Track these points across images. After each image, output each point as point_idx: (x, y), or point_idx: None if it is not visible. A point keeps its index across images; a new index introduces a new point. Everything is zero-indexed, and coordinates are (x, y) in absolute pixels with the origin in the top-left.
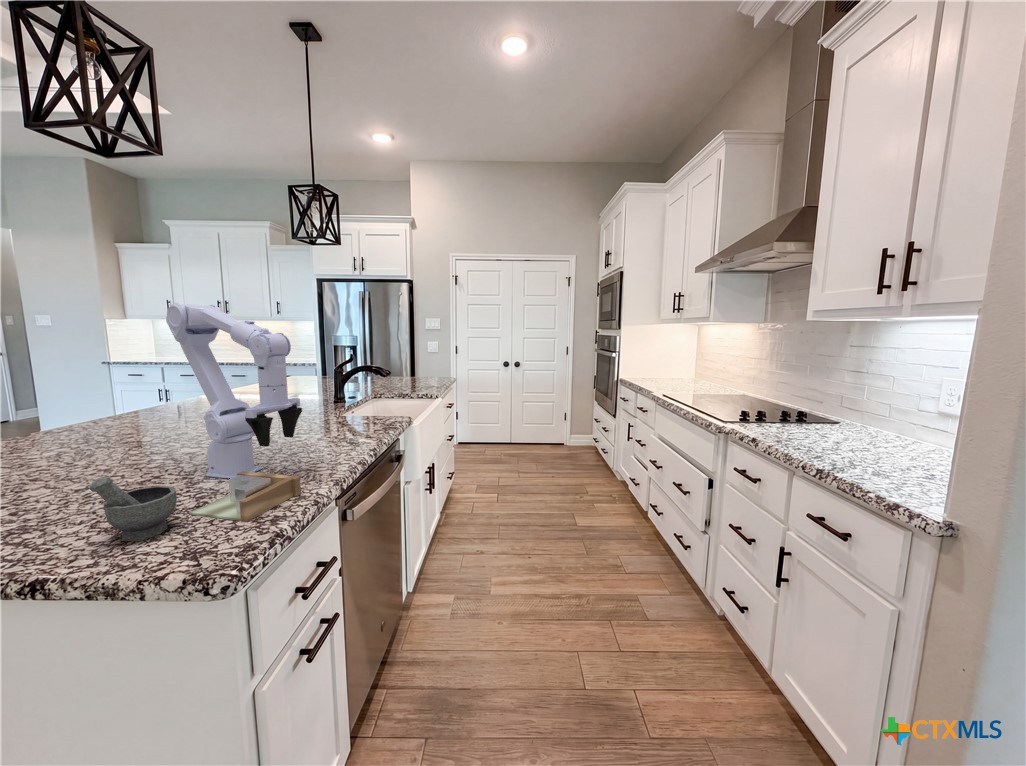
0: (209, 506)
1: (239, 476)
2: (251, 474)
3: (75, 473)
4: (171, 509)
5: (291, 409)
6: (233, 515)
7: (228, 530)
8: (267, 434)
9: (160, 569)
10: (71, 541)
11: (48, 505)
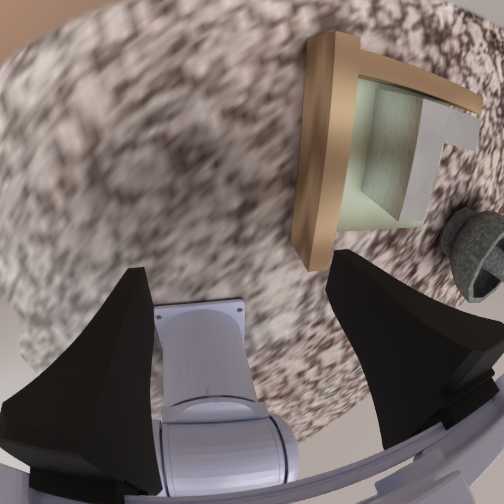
0: None
1: (409, 208)
2: (334, 222)
3: None
4: (485, 217)
5: (115, 477)
6: None
7: None
8: (396, 283)
9: None
10: (455, 285)
11: (359, 390)
